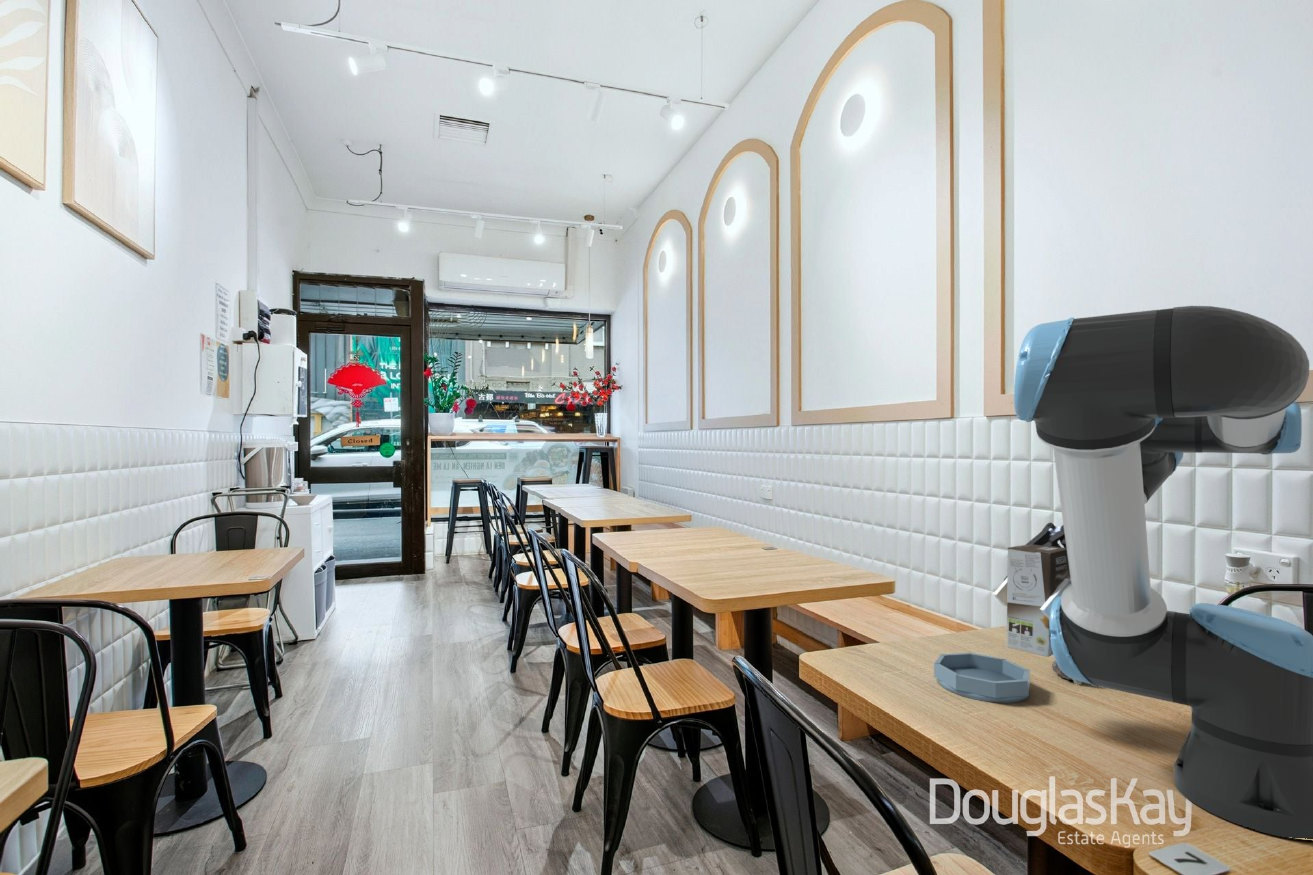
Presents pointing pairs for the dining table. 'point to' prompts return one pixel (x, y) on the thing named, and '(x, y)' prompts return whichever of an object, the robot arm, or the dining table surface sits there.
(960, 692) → the slate bowl
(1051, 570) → the coffee box
